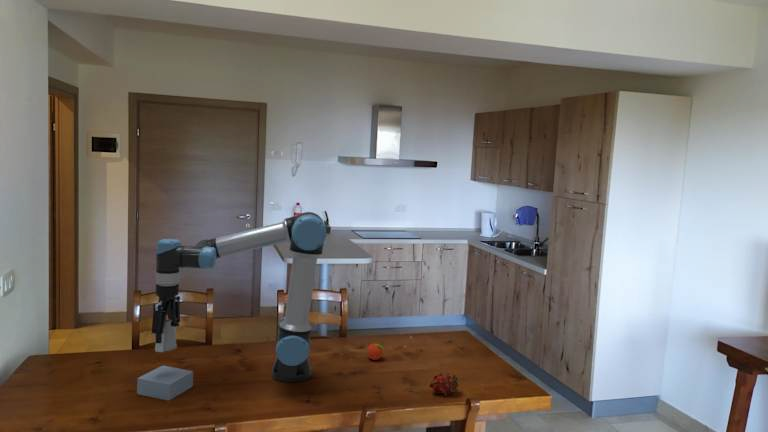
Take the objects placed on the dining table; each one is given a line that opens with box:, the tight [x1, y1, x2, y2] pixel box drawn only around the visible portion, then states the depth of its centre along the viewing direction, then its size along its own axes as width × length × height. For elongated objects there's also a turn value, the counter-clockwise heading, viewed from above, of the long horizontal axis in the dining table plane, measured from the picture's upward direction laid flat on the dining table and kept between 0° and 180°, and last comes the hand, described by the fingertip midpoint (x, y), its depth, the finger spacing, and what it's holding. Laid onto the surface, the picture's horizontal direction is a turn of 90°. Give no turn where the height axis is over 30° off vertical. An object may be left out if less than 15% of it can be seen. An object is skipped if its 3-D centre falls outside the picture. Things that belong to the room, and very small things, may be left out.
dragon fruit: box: [429, 371, 459, 396], centre depth 205 cm, size 8×8×12 cm
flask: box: [153, 318, 178, 352], centre depth 192 cm, size 7×7×10 cm
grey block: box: [136, 365, 194, 402], centre depth 194 cm, size 13×13×6 cm
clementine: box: [366, 343, 385, 361], centre depth 236 cm, size 8×7×7 cm
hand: (165, 347), depth 193 cm, fingers closed on flask, 7 cm apart
